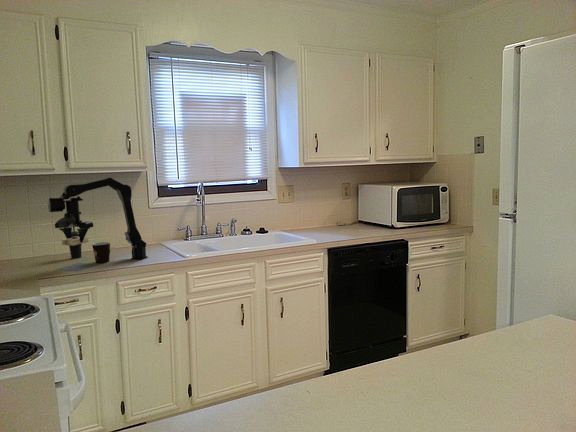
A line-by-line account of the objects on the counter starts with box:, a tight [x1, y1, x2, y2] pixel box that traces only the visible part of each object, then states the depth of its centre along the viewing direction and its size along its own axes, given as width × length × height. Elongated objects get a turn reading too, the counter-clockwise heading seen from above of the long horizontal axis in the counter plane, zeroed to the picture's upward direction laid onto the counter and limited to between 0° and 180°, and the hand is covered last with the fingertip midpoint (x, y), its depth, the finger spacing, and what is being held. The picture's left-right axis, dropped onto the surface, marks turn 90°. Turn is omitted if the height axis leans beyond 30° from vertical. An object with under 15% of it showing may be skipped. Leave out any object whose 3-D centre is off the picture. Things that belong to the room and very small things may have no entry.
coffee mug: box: [91, 241, 111, 264], centre depth 242 cm, size 12×9×10 cm
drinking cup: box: [68, 227, 82, 260], centre depth 256 cm, size 8×8×20 cm
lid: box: [61, 236, 89, 246], centre depth 232 cm, size 7×10×4 cm
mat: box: [54, 262, 100, 272], centre depth 234 cm, size 14×16×1 cm
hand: (75, 242), depth 232 cm, fingers closed on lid, 7 cm apart
